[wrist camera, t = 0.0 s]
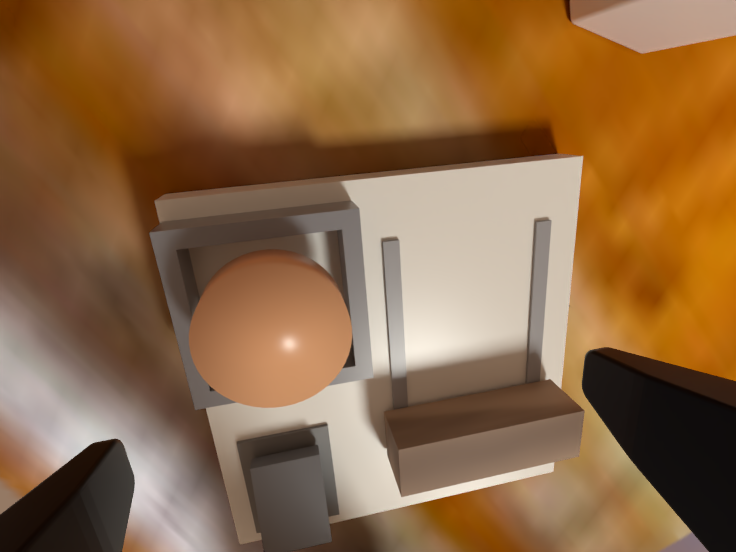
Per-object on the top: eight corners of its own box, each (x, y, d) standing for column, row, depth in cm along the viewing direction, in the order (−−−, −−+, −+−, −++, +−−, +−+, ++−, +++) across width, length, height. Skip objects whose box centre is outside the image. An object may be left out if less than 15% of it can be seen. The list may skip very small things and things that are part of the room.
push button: (350, 367, 20) (358, 392, 18) (214, 391, 19) (207, 420, 17) (337, 240, 17) (344, 254, 16) (183, 259, 16) (171, 276, 15)
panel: (536, 450, 30) (572, 495, 26) (242, 516, 27) (236, 578, 23) (558, 153, 23) (612, 159, 19) (165, 193, 20) (140, 209, 16)
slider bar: (546, 421, 26) (578, 456, 23) (387, 455, 24) (401, 497, 22) (550, 379, 25) (584, 410, 22) (383, 411, 23) (398, 450, 21)
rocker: (330, 528, 24) (332, 541, 23) (265, 543, 23) (264, 557, 22) (318, 444, 23) (319, 454, 22) (251, 458, 22) (250, 469, 21)
